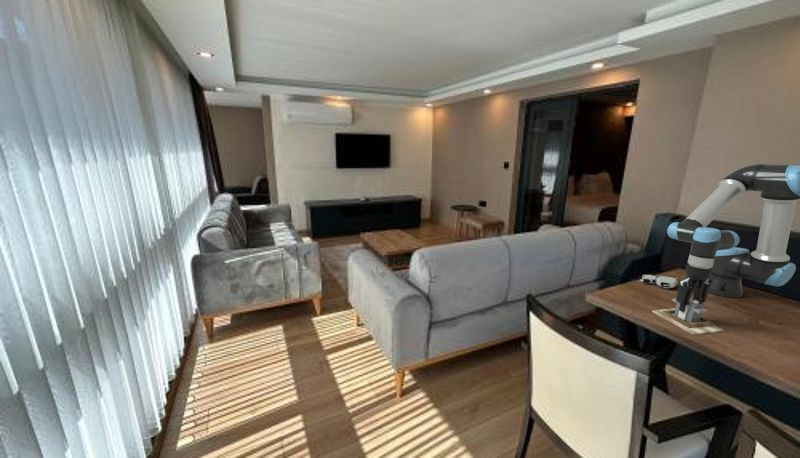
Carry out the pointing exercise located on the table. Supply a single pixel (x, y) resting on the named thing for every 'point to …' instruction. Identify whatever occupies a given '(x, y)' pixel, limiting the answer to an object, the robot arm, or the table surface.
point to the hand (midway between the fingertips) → (686, 317)
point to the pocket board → (688, 323)
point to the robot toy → (660, 281)
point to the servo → (692, 310)
